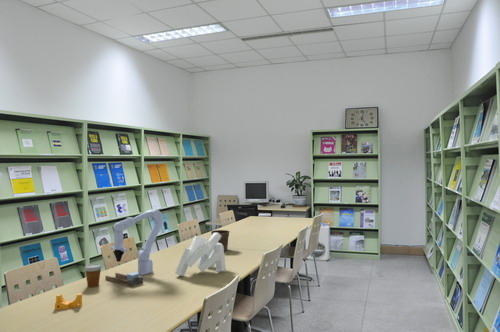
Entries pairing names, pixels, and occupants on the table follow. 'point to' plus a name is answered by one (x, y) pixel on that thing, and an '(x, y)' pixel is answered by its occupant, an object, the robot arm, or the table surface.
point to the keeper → (132, 276)
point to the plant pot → (223, 237)
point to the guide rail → (129, 283)
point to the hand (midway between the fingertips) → (118, 261)
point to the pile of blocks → (203, 254)
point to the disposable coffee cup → (93, 274)
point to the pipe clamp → (68, 302)
